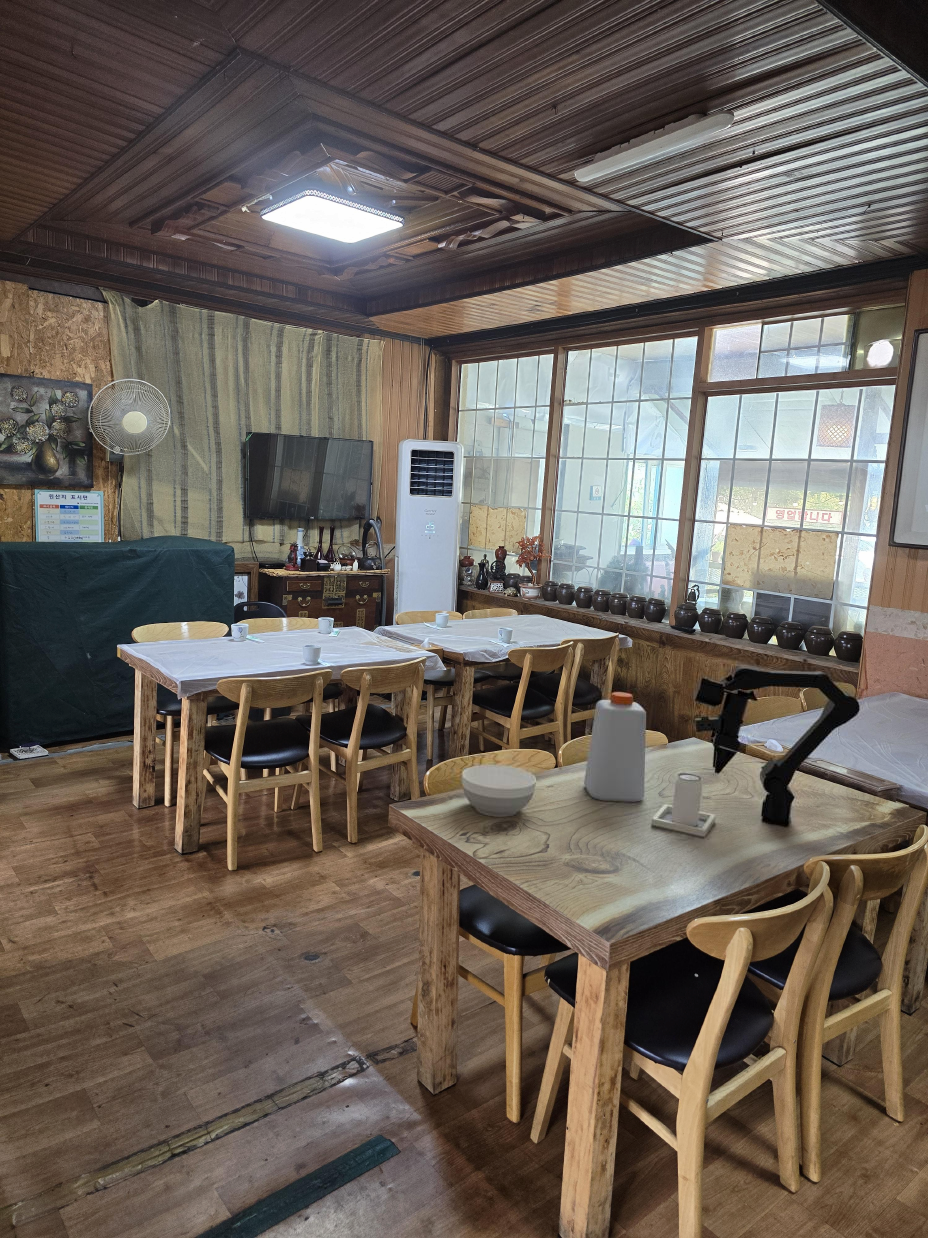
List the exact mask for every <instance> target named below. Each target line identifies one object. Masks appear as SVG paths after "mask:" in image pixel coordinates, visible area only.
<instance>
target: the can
mask: <svg viewBox="0 0 928 1238" xmlns="http://www.w3.org/2000/svg"><path fill="white" fill-rule="evenodd" d="M701 779H702V777H701V776H699V775H697V774H694V773H689V772H680V773H678V774H677V778H676V779H675V783H674V791H673V792H674V793H673V803H672V806H673V811H672V821H673V822H675V823H679V824H684V825H688V826H693V827H694V826H696V825H697V824H698V820H699V811H700V810H701V809H700V808H701V798H702V789H703V783H702V780H701ZM700 812H701V811H700Z"/></svg>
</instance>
